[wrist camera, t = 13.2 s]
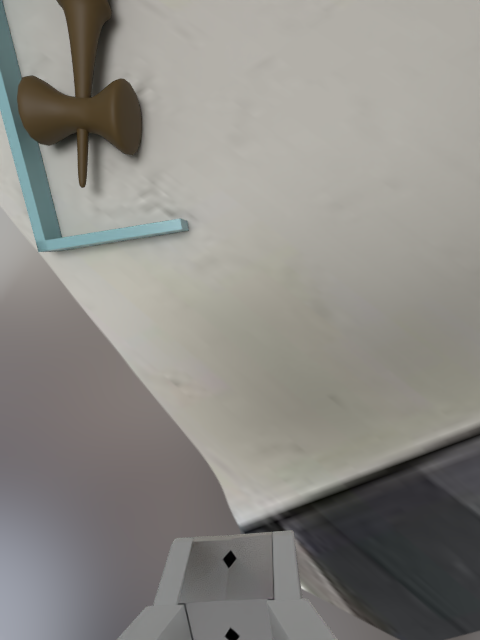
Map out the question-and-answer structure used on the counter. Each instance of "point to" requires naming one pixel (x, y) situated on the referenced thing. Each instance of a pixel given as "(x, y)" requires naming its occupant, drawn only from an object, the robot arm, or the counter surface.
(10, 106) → the open rectangular frame
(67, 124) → the kendama
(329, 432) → the counter surface
